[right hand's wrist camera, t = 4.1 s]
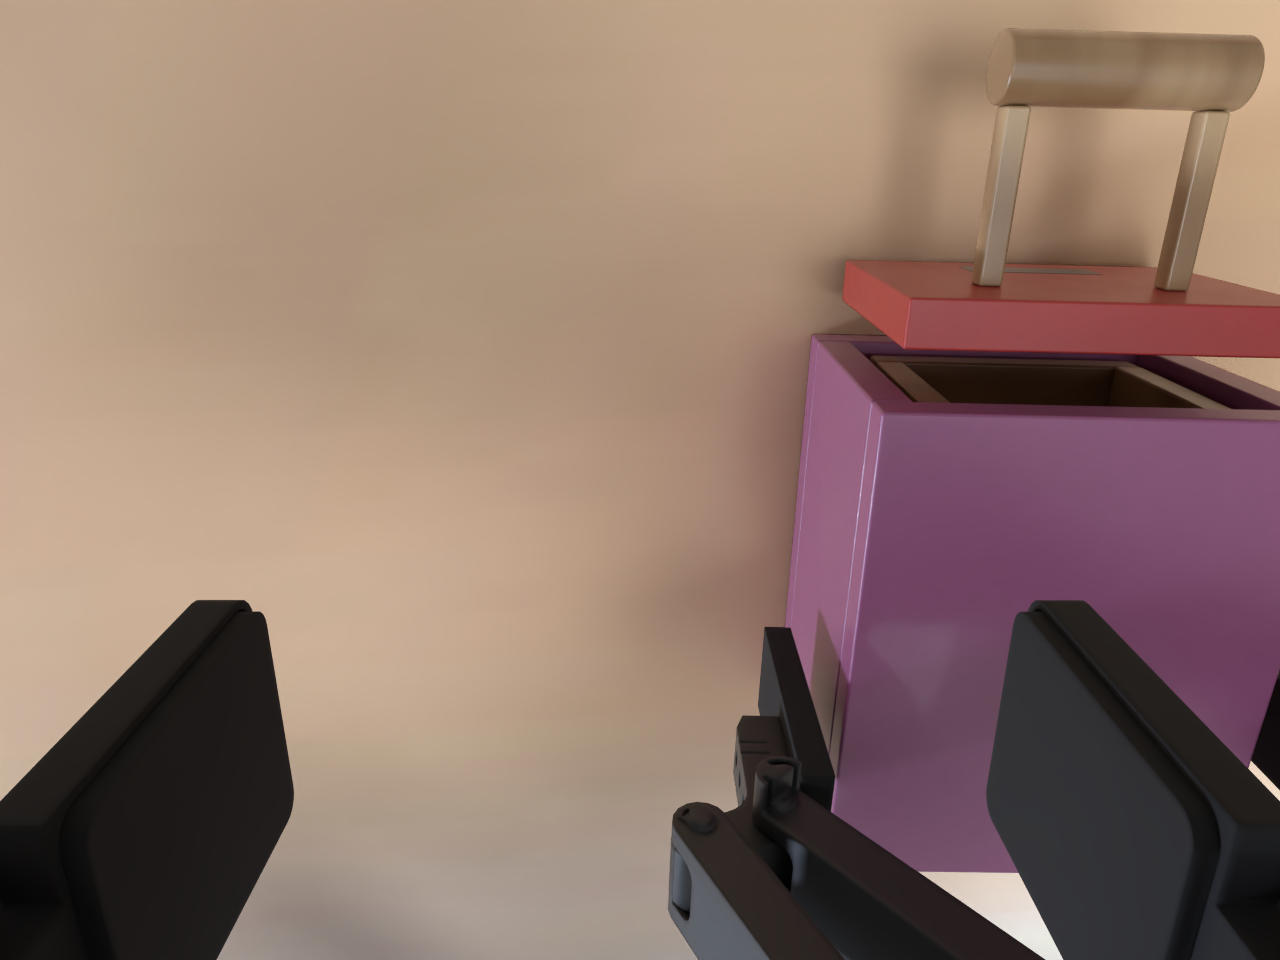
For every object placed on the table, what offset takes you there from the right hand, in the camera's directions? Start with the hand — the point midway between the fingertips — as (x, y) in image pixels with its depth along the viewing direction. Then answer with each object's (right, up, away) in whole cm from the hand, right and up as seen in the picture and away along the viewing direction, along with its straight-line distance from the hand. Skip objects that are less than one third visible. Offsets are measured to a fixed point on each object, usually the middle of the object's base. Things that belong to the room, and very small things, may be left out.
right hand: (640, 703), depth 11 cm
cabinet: (+11, +1, +19) cm, 22 cm away
